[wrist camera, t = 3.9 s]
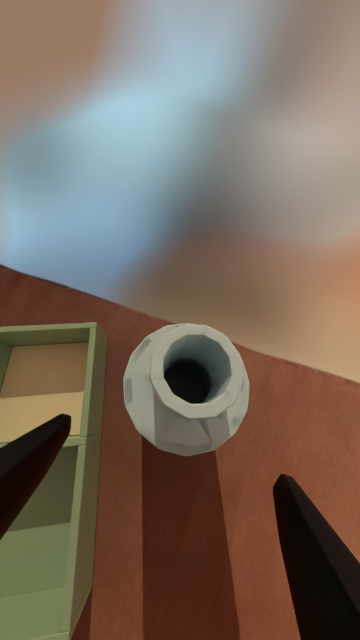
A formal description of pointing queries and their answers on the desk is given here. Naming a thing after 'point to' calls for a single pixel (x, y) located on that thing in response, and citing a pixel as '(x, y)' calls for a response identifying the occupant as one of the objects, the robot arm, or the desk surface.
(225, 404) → the bottle
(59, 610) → the divided tray
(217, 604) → the desk surface
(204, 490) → the desk surface
